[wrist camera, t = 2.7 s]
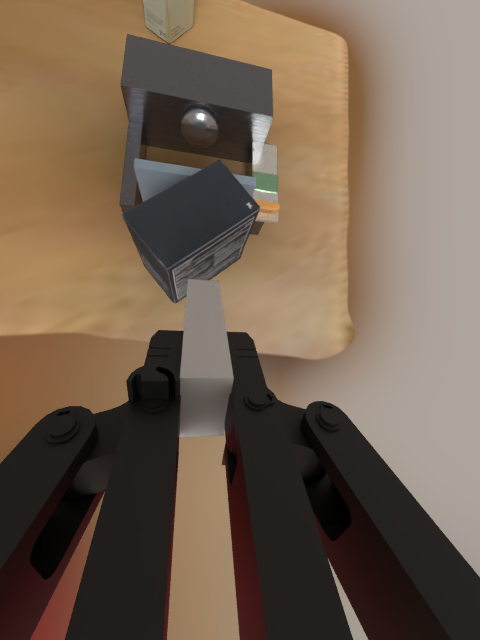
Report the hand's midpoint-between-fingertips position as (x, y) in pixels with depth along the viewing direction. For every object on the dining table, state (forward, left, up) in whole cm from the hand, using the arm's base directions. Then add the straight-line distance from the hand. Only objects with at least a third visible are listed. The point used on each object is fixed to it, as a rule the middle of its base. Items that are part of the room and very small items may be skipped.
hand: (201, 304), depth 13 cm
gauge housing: (-23, 0, -17) cm, 29 cm away
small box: (-10, 0, -18) cm, 20 cm away
